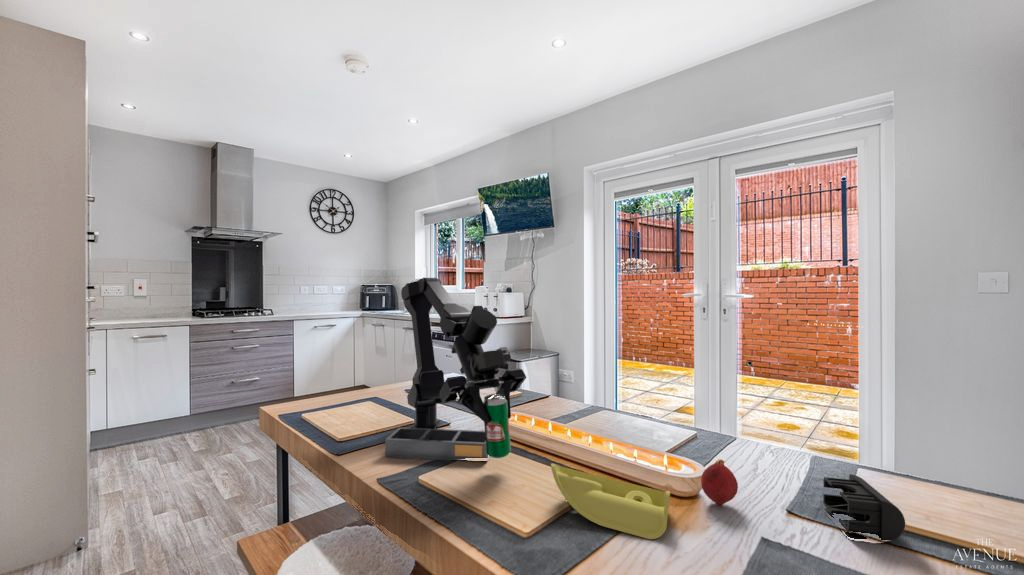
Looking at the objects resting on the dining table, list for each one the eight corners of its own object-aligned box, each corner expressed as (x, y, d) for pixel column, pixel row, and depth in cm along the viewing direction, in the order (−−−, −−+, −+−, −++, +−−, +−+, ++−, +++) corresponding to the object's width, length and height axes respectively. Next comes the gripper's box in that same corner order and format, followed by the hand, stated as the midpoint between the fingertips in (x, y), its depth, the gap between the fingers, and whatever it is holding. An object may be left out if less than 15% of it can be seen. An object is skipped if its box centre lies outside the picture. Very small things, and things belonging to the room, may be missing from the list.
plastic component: (670, 493, 78) (669, 491, 70) (665, 540, 76) (665, 543, 67) (560, 466, 86) (548, 461, 77) (553, 508, 83) (539, 508, 74)
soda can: (482, 458, 91) (478, 400, 90) (492, 447, 96) (488, 392, 95) (505, 460, 89) (501, 401, 88) (514, 449, 94) (510, 393, 93)
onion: (721, 516, 75) (722, 468, 75) (693, 501, 80) (694, 456, 80) (744, 508, 78) (745, 462, 77) (715, 494, 83) (716, 451, 82)
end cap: (905, 549, 66) (906, 503, 66) (850, 542, 68) (850, 498, 67) (869, 515, 75) (870, 475, 75) (821, 510, 77) (822, 471, 77)
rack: (398, 444, 108) (398, 427, 108) (493, 448, 105) (493, 431, 105) (384, 457, 99) (384, 439, 99) (487, 462, 97) (487, 444, 97)
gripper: (445, 338, 89) (472, 406, 81) (521, 332, 100) (552, 392, 91) (429, 370, 96) (452, 436, 87) (502, 361, 107) (529, 420, 98)
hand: (498, 420), depth 91 cm, fingers closed on soda can, 5 cm apart
